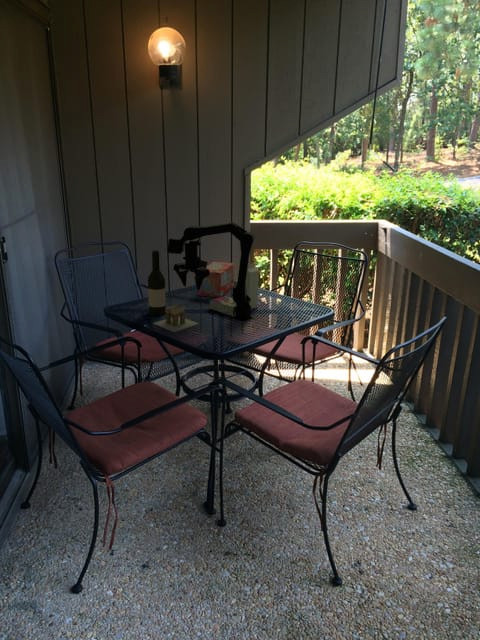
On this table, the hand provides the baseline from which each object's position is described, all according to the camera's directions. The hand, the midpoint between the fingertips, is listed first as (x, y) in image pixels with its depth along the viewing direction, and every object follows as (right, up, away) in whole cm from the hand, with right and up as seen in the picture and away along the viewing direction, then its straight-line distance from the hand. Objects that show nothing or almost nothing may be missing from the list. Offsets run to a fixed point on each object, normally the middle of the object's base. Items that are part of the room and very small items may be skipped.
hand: (191, 288), depth 227 cm
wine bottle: (-17, -12, +6) cm, 21 cm away
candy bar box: (+11, -6, +16) cm, 20 cm away
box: (+10, +1, +45) cm, 46 cm away
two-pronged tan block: (-6, -16, -9) cm, 20 cm away
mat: (-6, -17, -9) cm, 20 cm away
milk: (+27, -9, +17) cm, 33 cm away
